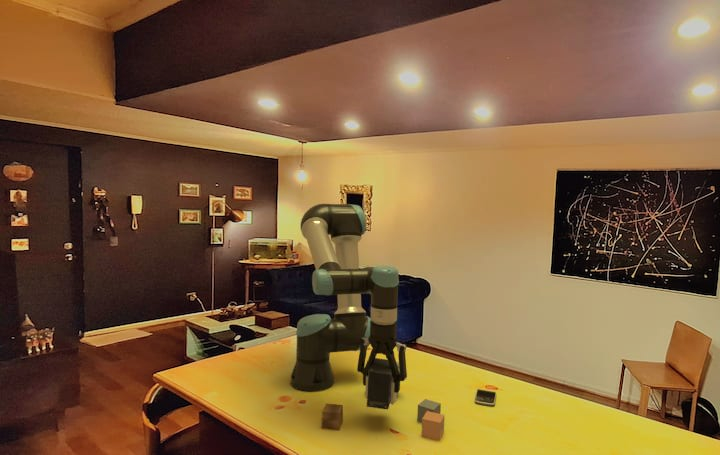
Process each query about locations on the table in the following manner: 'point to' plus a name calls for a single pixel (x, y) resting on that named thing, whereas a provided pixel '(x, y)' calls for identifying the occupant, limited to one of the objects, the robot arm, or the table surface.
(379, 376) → the small box
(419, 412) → the slate cube
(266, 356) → the table surface
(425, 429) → the terracotta cube
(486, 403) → the cell phone
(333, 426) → the walnut cube
